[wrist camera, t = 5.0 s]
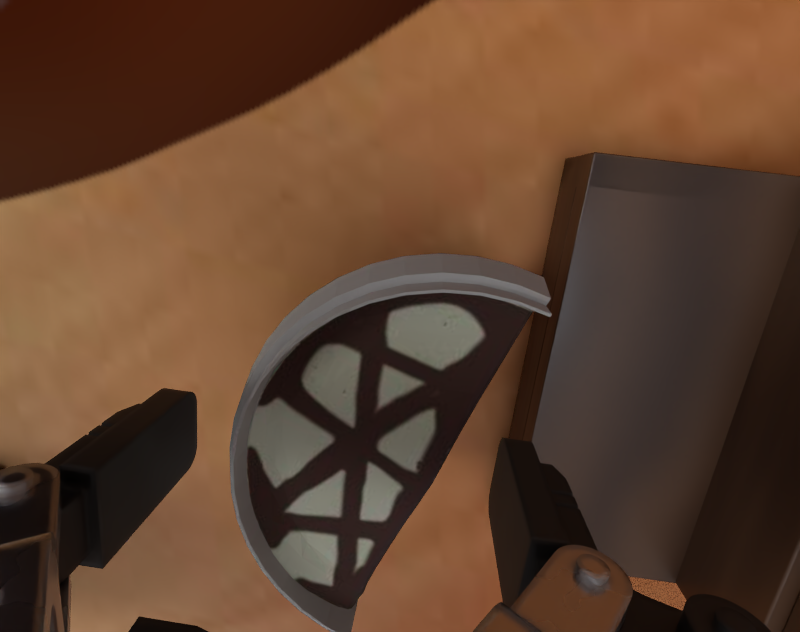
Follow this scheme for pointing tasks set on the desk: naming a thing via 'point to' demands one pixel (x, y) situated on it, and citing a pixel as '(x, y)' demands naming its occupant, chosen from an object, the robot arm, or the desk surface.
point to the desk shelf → (676, 373)
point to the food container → (365, 415)
